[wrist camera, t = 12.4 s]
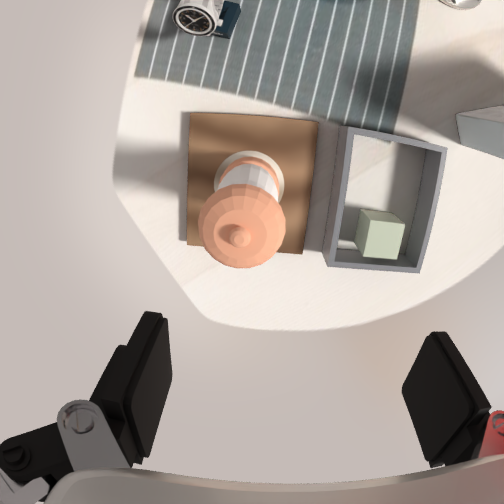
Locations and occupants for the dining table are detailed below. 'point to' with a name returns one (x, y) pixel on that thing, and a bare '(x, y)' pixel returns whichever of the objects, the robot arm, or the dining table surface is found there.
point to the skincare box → (483, 130)
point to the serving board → (260, 146)
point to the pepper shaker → (243, 215)
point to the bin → (421, 218)
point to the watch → (207, 17)
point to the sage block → (379, 234)
